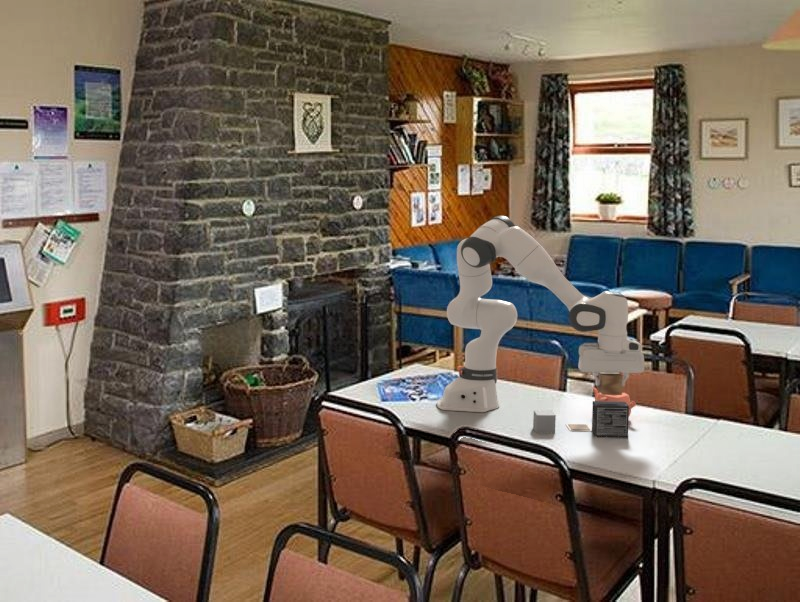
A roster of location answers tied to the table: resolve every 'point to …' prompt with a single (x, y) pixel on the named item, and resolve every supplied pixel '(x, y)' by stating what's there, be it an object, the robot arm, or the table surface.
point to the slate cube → (544, 421)
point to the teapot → (614, 398)
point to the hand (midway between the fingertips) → (610, 386)
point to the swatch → (578, 427)
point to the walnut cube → (610, 383)
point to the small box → (610, 419)
